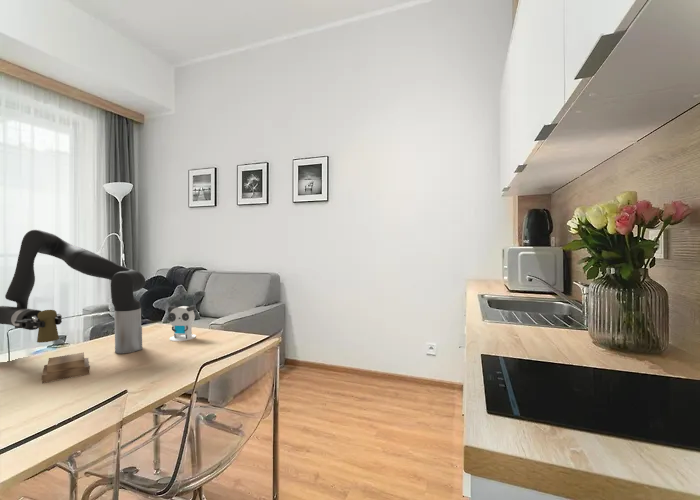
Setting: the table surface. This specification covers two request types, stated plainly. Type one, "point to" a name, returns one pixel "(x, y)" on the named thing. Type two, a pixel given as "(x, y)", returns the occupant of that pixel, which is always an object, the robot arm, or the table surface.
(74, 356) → the walnut stand
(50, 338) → the cork
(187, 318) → the panda figurine
